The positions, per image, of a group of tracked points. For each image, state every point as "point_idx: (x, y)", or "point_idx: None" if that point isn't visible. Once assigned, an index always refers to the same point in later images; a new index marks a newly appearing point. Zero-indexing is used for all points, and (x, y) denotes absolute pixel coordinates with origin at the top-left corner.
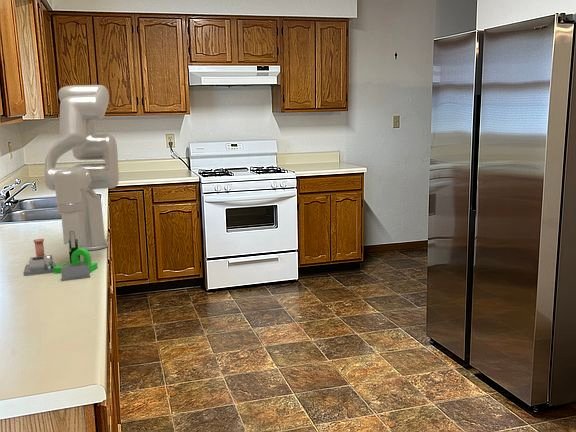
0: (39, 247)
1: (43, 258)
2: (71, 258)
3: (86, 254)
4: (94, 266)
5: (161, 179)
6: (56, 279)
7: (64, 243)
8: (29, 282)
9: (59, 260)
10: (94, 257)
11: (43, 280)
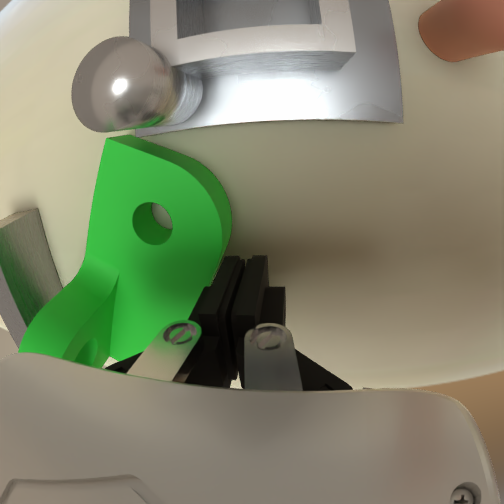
0: None
1: (316, 13)
2: (46, 305)
3: None
4: None
5: None
6: (28, 182)
7: (9, 356)
8: (22, 63)
9: (499, 163)
10: (434, 356)
11: (26, 120)
